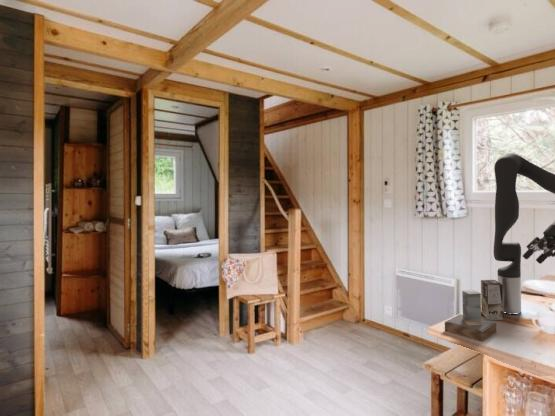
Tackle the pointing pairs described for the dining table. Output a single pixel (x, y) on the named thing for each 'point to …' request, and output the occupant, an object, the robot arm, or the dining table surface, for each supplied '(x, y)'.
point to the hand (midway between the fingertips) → (531, 259)
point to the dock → (470, 328)
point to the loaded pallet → (471, 307)
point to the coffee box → (492, 299)
